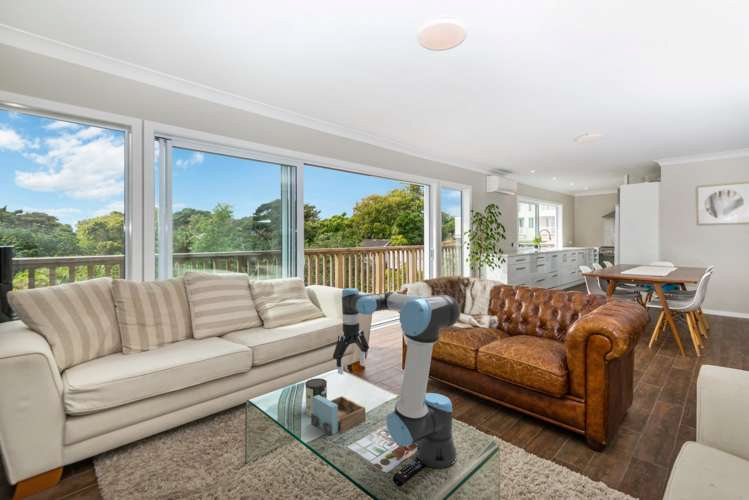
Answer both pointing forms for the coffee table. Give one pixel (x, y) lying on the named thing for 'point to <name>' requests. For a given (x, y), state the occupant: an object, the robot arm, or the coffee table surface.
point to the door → (326, 413)
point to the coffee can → (314, 392)
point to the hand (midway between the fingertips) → (351, 369)
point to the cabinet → (344, 415)
